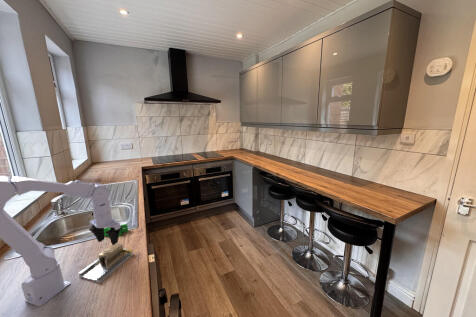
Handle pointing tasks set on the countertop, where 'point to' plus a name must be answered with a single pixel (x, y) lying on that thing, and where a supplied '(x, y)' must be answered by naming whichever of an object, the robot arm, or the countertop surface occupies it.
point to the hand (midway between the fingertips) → (108, 242)
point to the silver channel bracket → (103, 268)
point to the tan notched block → (111, 254)
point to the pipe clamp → (119, 232)
